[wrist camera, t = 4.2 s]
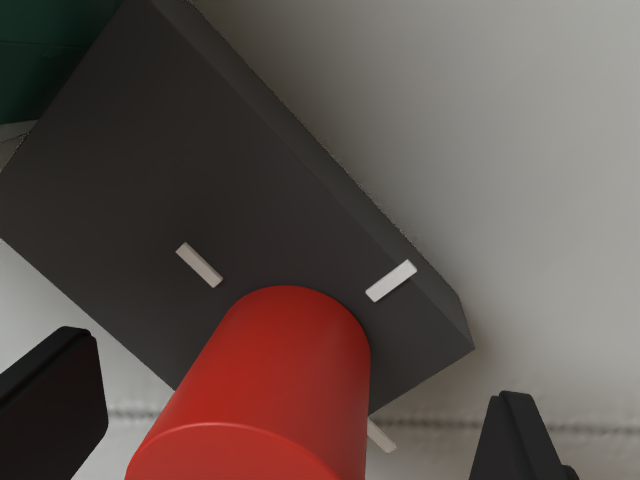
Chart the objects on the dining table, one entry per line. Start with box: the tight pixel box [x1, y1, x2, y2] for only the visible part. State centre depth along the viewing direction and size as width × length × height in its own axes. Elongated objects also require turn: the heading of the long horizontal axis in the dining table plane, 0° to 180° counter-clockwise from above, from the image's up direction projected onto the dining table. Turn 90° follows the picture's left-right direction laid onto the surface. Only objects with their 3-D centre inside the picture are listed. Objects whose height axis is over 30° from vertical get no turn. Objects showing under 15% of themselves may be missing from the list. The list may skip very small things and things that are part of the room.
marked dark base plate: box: [0, 0, 475, 454], centre depth 13 cm, size 13×9×3 cm, turn 44°
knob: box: [124, 285, 371, 480], centre depth 10 cm, size 4×4×5 cm
